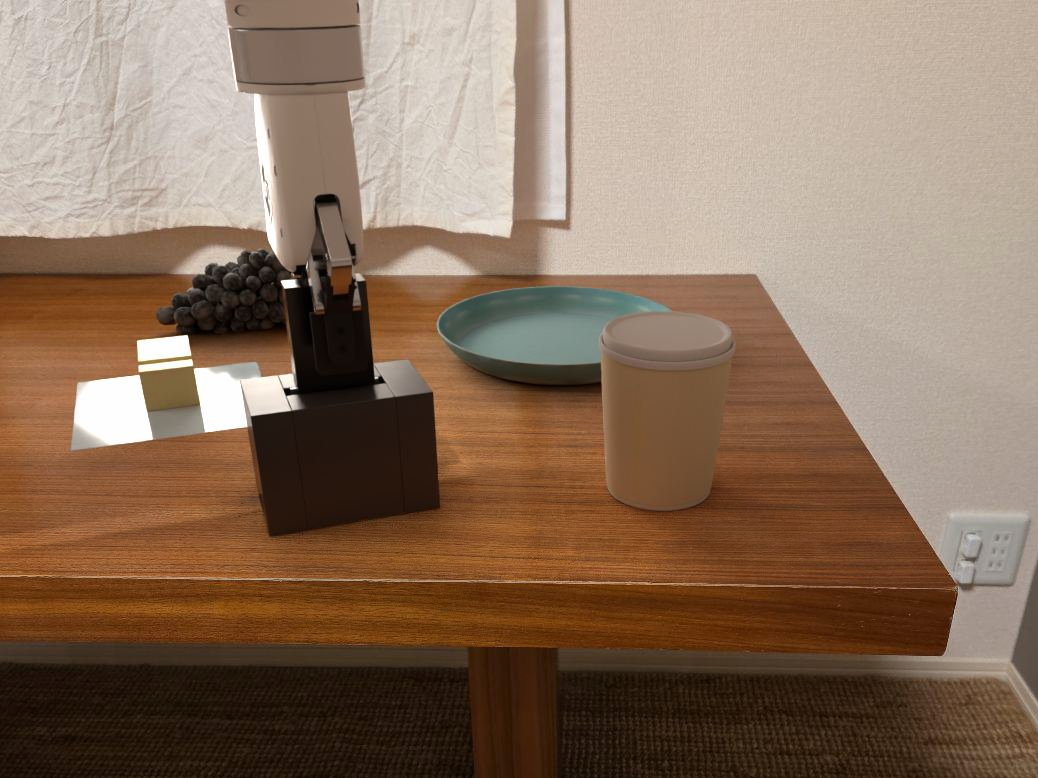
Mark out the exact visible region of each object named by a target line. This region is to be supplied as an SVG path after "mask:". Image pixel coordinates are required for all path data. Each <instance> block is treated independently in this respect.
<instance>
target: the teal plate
mask: <svg viewBox="0 0 1038 778" xmlns="http://www.w3.org/2000/svg"><path fill="white" fill-rule="evenodd" d="M652 311H673V310H672V309H671V308H669V307H668V306H666V305H664V304H662V303H659V302H658V301H656V300H653V299H650V298H647V297H643V296H641V295H637V294H632V293H628V292H623V291H618V290H614V289H606V288H598V287H589V286H588V287H586V286H573V285H572V286H571V285H547V286H546V285H543V286H542V285H541V286H528V287H517V288H516V287H515V288H508V289H501V290H496V291H491V292H487V293H481V294H478V295H475V296H472V297H468V298H466V299H463V300H461V301H459V302H456V303H455V304H452V305H451V306H449V307H447V308H446V309H444V311H443V312H441V314H440V315H439V316H438V318H437V320H436V329H437V332H438V334H439V336H440V338H441V340H442V341H443V343H444V344H445V345H446V347H447V348H448V349H449V350H450V352H452V353H453V354H454V355H455V356H456V357H457V358H459V359H460V360H461V361H463V362H464V363H466V364H467V365H469V366H471V367H472V368H474V369H476V370H478V371H479V372H482V373H485V374H487V375H489V374H490V376H492V377H495V378H498V379H502V380H506V381H511V382H516V381H517V383H522V382H523V384H530V383H531V385H544V386H578V385H579V386H581V385H589V384H599V383H602V379H601V351H600V349H599V337H600V335H601V334H602V333H603V329H604V327H605V325H606V324H607V323H608V322H610V321H611V320H613V319H615V318H618V317H621V316H624V315H628V314H633V313H640V312H652Z"/></svg>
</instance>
